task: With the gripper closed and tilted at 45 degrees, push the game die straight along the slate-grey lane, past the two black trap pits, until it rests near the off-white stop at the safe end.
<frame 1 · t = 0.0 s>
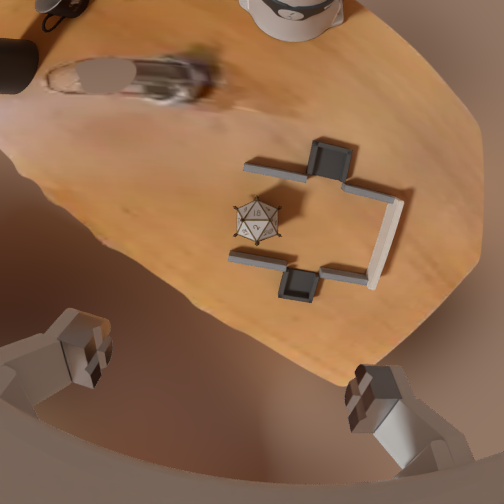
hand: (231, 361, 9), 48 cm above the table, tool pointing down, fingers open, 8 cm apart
trap lane: (310, 225, 57), on the table
game die: (258, 214, 57), on the table
coffee mug: (72, 11, 40), on the table
vase: (19, 67, 45), on the table
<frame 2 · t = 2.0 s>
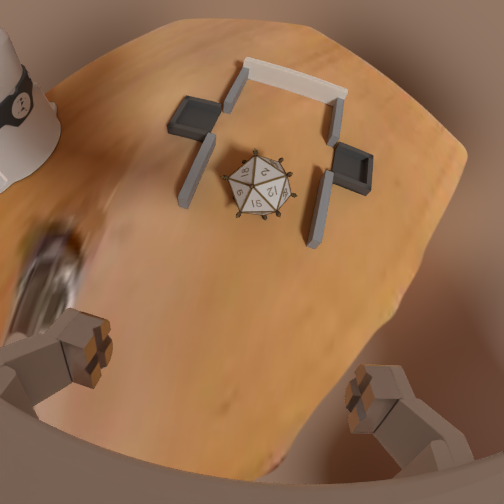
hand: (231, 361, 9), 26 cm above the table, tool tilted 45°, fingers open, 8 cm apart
trap lane: (273, 146, 44), on the table
game die: (255, 202, 41), on the table
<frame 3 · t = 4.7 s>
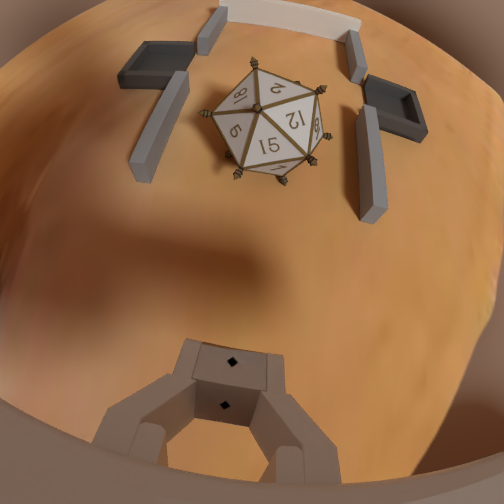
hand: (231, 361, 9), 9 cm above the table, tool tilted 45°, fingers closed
trap lane: (276, 84, 27), on the table
game die: (263, 159, 24), on the table
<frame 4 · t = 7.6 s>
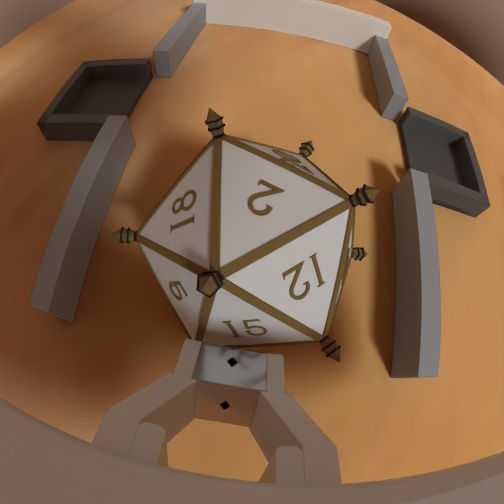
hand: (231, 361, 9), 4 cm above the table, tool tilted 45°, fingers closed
trap lane: (271, 126, 18), on the table
game die: (245, 278, 15), on the table, touching gripper
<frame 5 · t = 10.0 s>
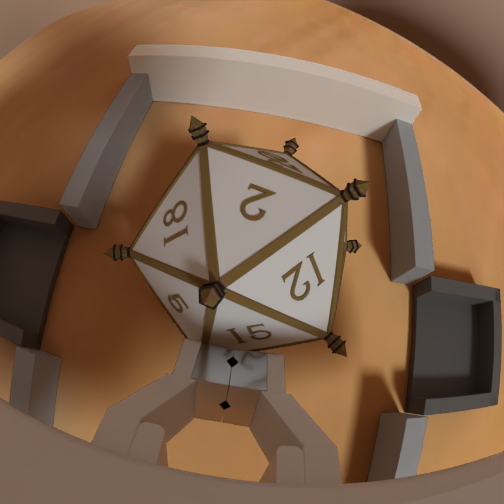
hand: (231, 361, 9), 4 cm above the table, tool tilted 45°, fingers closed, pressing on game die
trap lane: (229, 337, 14), on the table
game die: (241, 281, 15), on the table, touching gripper
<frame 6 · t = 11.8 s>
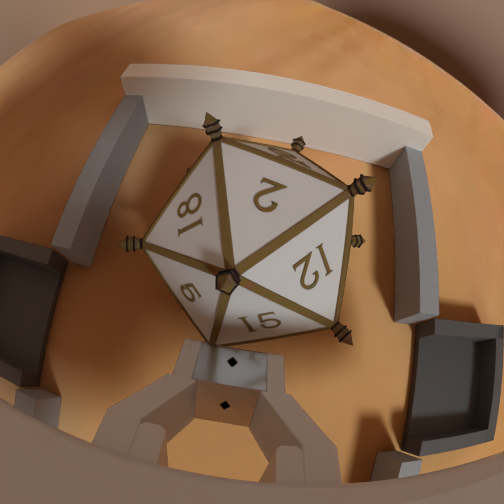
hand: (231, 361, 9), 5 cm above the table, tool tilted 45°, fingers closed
trap lane: (227, 382, 13), on the table
game die: (247, 275, 15), on the table
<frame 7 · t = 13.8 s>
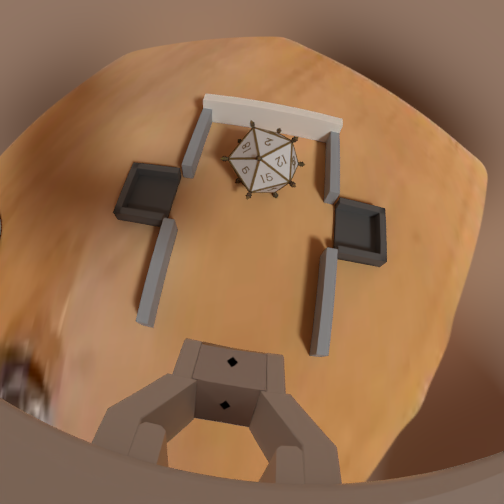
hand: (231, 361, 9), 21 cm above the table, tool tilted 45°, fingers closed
trap lane: (253, 218, 35), on the table
game die: (260, 181, 37), on the table
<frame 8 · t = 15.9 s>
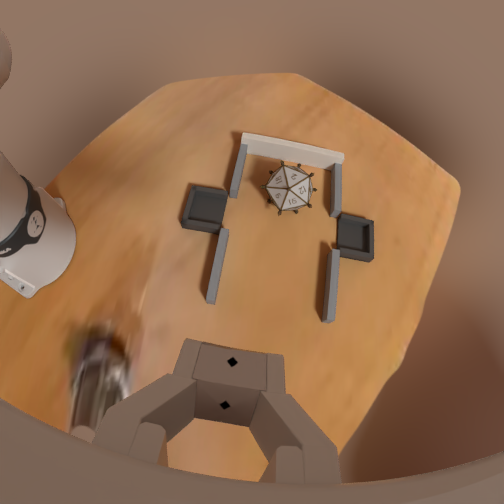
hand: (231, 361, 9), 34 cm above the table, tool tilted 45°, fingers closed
trap lane: (281, 228, 49), on the table
game die: (285, 201, 52), on the table
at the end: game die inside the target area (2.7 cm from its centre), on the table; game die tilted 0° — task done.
